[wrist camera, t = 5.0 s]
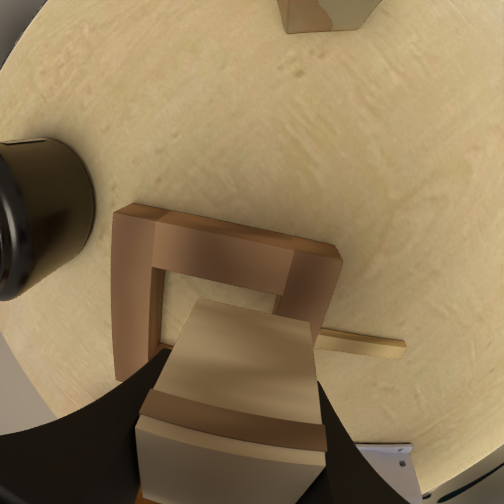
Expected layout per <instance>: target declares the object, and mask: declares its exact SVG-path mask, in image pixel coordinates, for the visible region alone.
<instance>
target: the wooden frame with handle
mask: <svg viewBox="0 0 504 504" xmlns="http://www.w3.org/2000/svg"><path fill="white" fill-rule="evenodd" d="M342 263H343V260H342V258H341V256H340V254H339V252H338V250H337V249H336V247H335V245H331V244H327V243H322V242H318V241H313V240H309V239H304V238H300V237H295V236H291V235H286V234H282V233H277V232H272V231H268V230H263V229H259V228H254V227H249V226H244V225H240V224H235V223H230V222H225V221H221V220H216V219H211V218H206V217H201V216H196V215H191V214H186V213H181V212H176V211H171V210H166V209H161V208H156V207H150V206H145V205H140V204H135V203H132V204H130V205H128V206H126V207H124V208H122V209H119V210H117V211H115V212H113V224H112V245H111V318H112V339H113V354H114V367H115V377H116V380H118V381H121V382H124V381H125V380H126V379H128V378H129V377H130V376H132V375H133V374H134V373H135V372H137V371H138V370H139V369H140V368H141V367H143V366H144V365H145V364H146V363H147V362H148V361H149V360H150V359H152V358H153V357H154V356H155V355H156V354H157V353H158V352H159V351H160V350H161V349H163V348H167V349H171V350H173V348H174V347H172V346H169V345H165V344H161V343H160V330H161V314H162V299H163V286H164V275H165V270H168V271H173V272H177V273H181V274H185V275H190V276H194V277H198V278H203V279H207V280H212V281H216V282H221V283H225V284H230V285H234V286H239V287H243V288H248V289H253V290H257V291H262V292H267V293H272V294H277V298H276V302H275V306H274V309H273V313H272V315H277V316H281V317H286V318H291V319H296V320H301V321H305V322H309V323H310V330H311V338H312V345H313V347H315V348H321V349H327V350H333V351H340V352H347V353H354V354H361V355H368V356H376V357H384V358H393V359H402V358H403V356H404V354H405V352H406V350H407V346H406V344H405V342H404V341H398V340H391V339H384V338H377V337H370V336H364V335H357V334H351V333H345V332H339V331H333V330H327V329H322V328H321V326H322V323H323V320H324V317H325V314H326V312H327V309H328V306H329V303H330V300H331V297H332V294H333V291H334V288H335V285H336V282H337V279H338V276H339V272H340V269H341V266H342Z"/></svg>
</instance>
